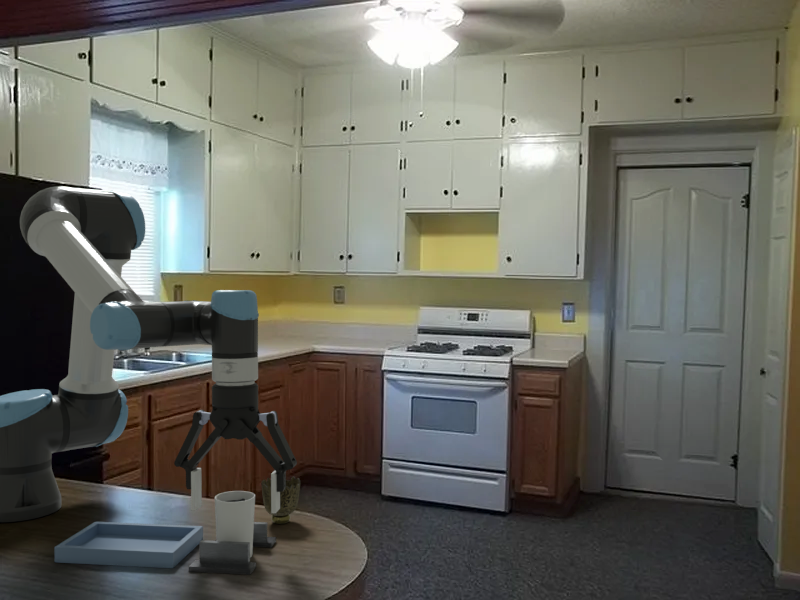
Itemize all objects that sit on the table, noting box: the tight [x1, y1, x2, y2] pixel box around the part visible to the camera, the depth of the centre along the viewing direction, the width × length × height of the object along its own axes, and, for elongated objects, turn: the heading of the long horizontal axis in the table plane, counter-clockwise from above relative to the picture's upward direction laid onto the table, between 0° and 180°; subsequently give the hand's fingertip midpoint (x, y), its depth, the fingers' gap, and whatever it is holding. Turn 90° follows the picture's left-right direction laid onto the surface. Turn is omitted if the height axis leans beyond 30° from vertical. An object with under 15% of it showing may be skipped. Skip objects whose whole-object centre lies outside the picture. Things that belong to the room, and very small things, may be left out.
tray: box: [54, 521, 204, 569], centre depth 127 cm, size 13×20×2 cm, turn 84°
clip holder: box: [188, 521, 277, 576], centre depth 125 cm, size 15×10×4 cm, turn 174°
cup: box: [260, 476, 301, 525], centre depth 142 cm, size 8×7×8 cm
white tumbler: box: [214, 490, 256, 558], centre depth 125 cm, size 7×7×10 cm
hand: (235, 509), depth 125 cm, fingers open, 13 cm apart
